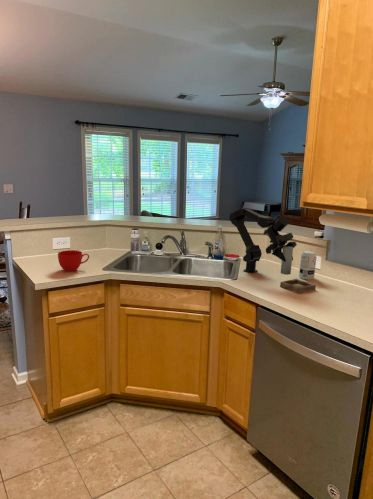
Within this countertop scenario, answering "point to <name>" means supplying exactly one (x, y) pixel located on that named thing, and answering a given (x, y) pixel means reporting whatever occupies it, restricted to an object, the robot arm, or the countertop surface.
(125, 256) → the countertop surface
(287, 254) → the slate part
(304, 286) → the walnut tray
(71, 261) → the ceramic cup
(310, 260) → the supplement can
